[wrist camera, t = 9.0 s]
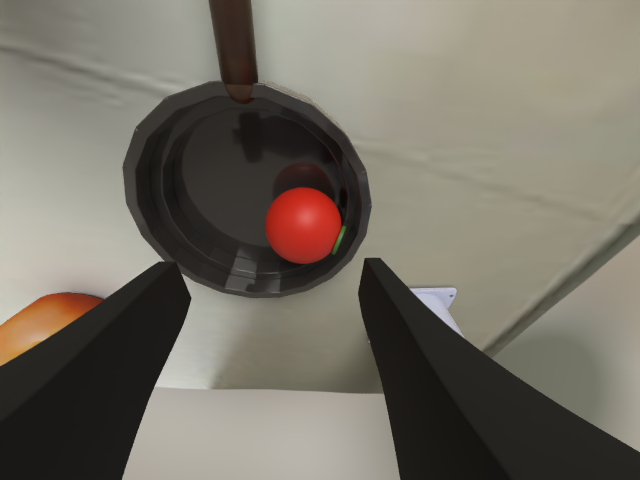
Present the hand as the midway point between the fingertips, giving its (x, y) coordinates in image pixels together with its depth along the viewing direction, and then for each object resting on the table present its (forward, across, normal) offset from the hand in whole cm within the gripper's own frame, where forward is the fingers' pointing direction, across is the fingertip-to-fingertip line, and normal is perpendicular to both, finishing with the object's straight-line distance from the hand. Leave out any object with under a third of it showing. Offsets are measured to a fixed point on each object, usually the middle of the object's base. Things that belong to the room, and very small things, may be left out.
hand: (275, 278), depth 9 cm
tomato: (+7, +1, +1) cm, 7 cm away
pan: (+9, +2, +1) cm, 9 cm away
